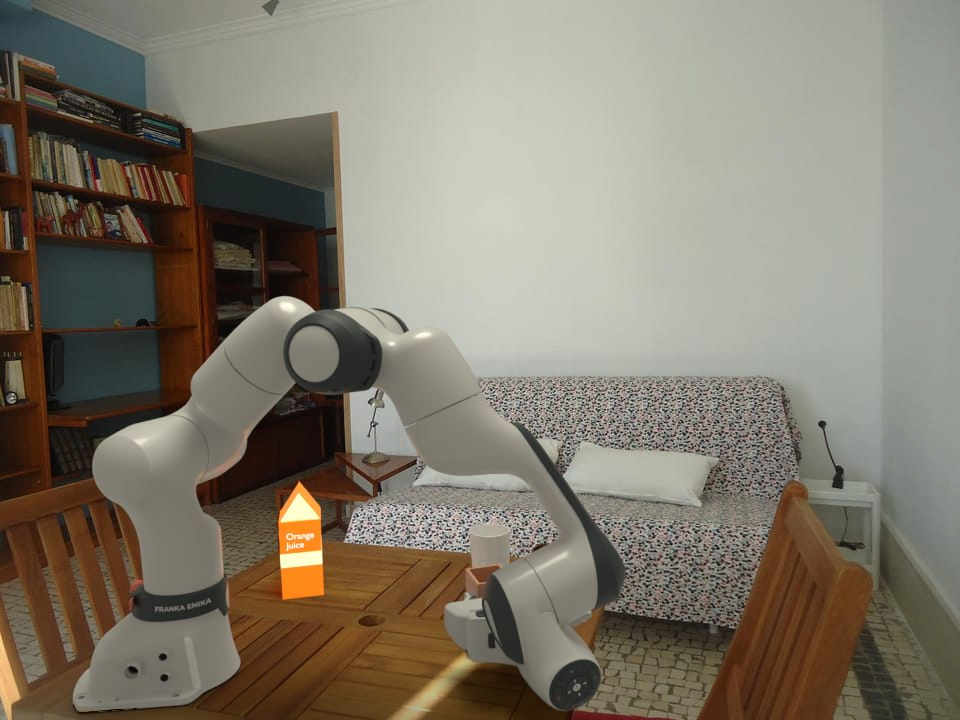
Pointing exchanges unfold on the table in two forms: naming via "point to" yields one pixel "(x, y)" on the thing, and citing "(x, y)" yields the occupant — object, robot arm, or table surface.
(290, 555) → the orange juice
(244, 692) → the table surface
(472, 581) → the pink square pot
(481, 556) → the white cup
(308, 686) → the table surface
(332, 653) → the table surface
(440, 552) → the table surface
